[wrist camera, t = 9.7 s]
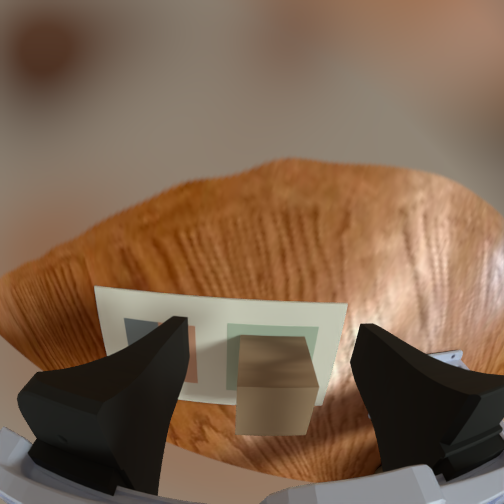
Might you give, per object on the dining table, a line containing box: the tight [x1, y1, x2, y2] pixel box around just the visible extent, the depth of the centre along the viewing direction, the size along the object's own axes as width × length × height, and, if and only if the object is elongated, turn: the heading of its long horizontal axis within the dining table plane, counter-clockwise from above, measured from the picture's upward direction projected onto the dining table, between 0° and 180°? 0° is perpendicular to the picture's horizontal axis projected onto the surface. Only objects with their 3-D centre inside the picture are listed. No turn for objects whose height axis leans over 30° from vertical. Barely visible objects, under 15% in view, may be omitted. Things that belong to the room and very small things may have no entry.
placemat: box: [94, 286, 348, 406], centre depth 22 cm, size 20×11×1 cm, turn 87°
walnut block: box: [235, 335, 319, 436], centre depth 20 cm, size 5×5×6 cm
